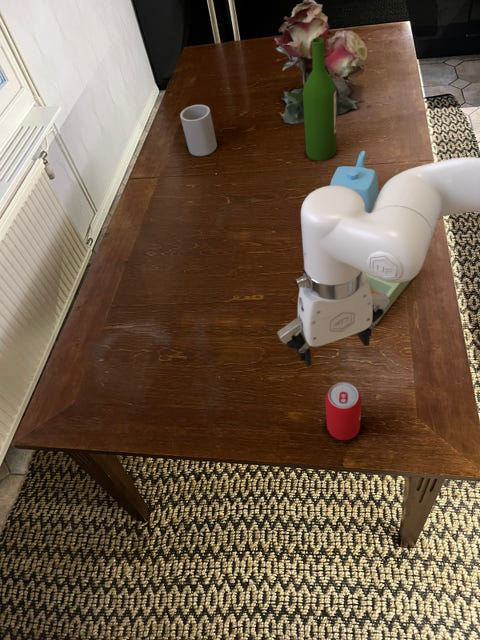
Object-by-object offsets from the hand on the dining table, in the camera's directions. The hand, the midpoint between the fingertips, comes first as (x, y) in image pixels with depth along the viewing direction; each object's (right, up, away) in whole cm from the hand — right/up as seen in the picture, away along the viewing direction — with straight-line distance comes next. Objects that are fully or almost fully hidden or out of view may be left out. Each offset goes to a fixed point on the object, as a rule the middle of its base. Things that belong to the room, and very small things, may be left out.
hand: (334, 349), depth 83 cm
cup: (-27, +60, +86) cm, 108 cm away
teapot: (+16, +35, +58) cm, 70 cm away
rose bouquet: (+11, +79, +94) cm, 123 cm away
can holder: (+17, +11, +38) cm, 43 cm away
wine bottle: (+10, +55, +75) cm, 93 cm away
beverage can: (+5, -16, +18) cm, 25 cm away
